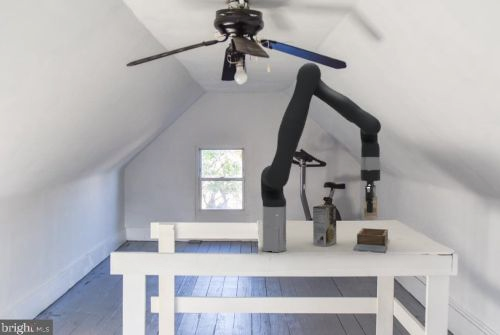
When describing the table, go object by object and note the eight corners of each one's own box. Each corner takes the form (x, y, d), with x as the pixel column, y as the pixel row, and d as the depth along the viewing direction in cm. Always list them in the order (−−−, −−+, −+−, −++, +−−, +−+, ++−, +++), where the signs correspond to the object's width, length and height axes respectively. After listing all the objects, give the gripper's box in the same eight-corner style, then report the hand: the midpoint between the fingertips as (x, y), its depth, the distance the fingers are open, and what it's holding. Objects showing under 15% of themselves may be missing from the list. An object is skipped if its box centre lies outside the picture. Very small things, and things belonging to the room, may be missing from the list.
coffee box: (323, 241, 187) (323, 204, 186) (336, 243, 183) (336, 205, 182) (312, 244, 180) (312, 206, 179) (326, 246, 176) (326, 207, 175)
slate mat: (385, 253, 163) (385, 251, 163) (353, 250, 168) (353, 249, 168) (387, 247, 173) (387, 246, 173) (356, 245, 178) (356, 244, 178)
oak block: (376, 218, 167) (375, 197, 167) (364, 217, 169) (364, 197, 169) (377, 216, 172) (377, 196, 172) (365, 216, 173) (365, 196, 173)
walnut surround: (384, 247, 174) (384, 236, 174) (357, 245, 178) (357, 234, 178) (387, 239, 191) (387, 229, 191) (362, 238, 195) (362, 228, 195)
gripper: (362, 168, 178) (362, 209, 178) (358, 169, 165) (358, 213, 165) (381, 168, 175) (381, 210, 176) (378, 169, 162) (378, 214, 162)
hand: (370, 211), depth 170 cm, fingers closed on oak block, 4 cm apart
